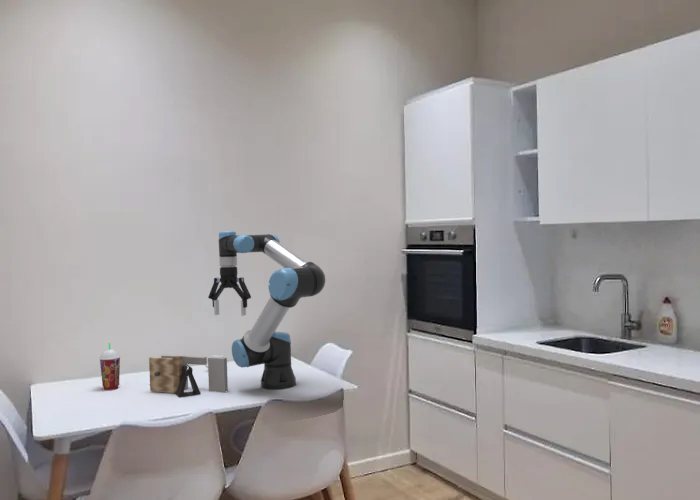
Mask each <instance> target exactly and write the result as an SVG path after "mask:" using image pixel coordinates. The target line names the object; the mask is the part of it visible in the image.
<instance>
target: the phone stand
mask: <svg viewBox="0 0 700 500" xmlns="http://www.w3.org/2000/svg"><path fill="white" fill-rule="evenodd" d="M186 369H188V370H187V371H186ZM187 376H188V381H189V382H190V386H191V391H186V392H185V390H186V389H185V385H186V381H187ZM175 395H176V396H177V397H179V398H185V397H192V396H193V397H194V396H200V395H201V390H200V388H199V386H198V384H197V381H196V379H195V376H194V374H193V367H191V366H190V364H187V366H186V365H183V366H182V375H181V380H180V384H179V386H178V388H177V391H176V393H175Z"/></svg>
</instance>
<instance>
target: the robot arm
mask: <svg viewBox="0 0 700 500" xmlns="http://www.w3.org/2000/svg"><path fill="white" fill-rule="evenodd" d="M247 253H263V254H265V255H266V256H268V258H270V259H271V260H273V261H275V262H276V263H277V264H278V265H280V266H281V267H282V268H279V269H277V270H275V271H274V272H273V273H272V274H271V275H270V278H269V280H268V284H269V285H267V286H268V291H269V292H268V293H269V296H270V297H269V299H268V301H267V302H266V304H265V305H264V307H263V309H262V311H261V312H260V315H259V316H258V318H257V319H256V321H255V323H254V325H253V326H252V328H251V329H249V330H247V331H246V332H245V333H244V334H243V336H242V338H239V339H235V340H234V341H233V342H232V344H231V355H232V358H233V361H234V363H235V364H236V366H238V367H240V368H249V367H255V366H259V365H264V366H263V373H262V376H261V378H260V387H261V388H263V389H268V390H269V389H270V390H278V389H280V390H282V389H287V388H291V387H292V388H293V387H294V386H296V385H297V380H296V376H295V373H294V369H293V368H292V347H291V346H292V345H291V344H292V342H291V335H290V334H289V333H288V332H282V331H276V330H277V329H278V327H279V325H280V324H281V322H282V321H283V319H284V318H285V316H286V315H287V313H288V311H289V310H290V309H291V308H294V307H295V306H297V304H298V302H299V300H301V298H308V297H314V296H316V295H318V294H320V293H321V292H322V290H323V289H324V287H325V285H326V275H325V273H324V271H323V269H322V268H321V267H320V266H318V264H316V263H315V262H313V261H307V260H305V259H304V258H302V257H301V256H300V255H298V254H296V252H294V251H293V250H291V249H289V248H288V247H286V246H285V245H283V244H282V243H280V238H279V237H278V236H277V235H276V234H270V233H269V234H268V233H267V234H237V232H236V231H235V230H234V231H233V230H229V231H228V230H225V231H219V233H218V255H219V257H218V258H219V275H220V277H214V278H213V283H212V287H211V290H210V291H209V295H208V299H209V300H211V301H212V307H213V310H214V314H213V315H214V316H217V315H220V299H218V298H220V295H221V294H222V293H223V291H224V290H225V289H233V290H234V291H235V292H236V294H237V295H238V296H239V298H240V299H241V300H240V315H241V317H242V316H243V317H244V316H246V315H247V308H248V300H249V299H251V298H252V296H251V293H250V292H249V288H248V287H247V285H246V283H245V279H244V278H245V277H241V276H240V277H238V267H237V266H238V254H247Z"/></svg>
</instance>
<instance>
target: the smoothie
mask: <svg viewBox="0 0 700 500" xmlns="http://www.w3.org/2000/svg"><path fill="white" fill-rule="evenodd" d="M120 363H121V356H120V354H119V352H118V351H117V350H115V349H113V348H111V342H108V348H107V349H106V350H104V351H103V352H102V353H101V355H100V357H99V364H100V372H101V373H100V376H101V382H102V383H101V384H102V388H103V389H104V390H106V391H111V390H112V391H113V390H117V389H118V388H119V385H120V374H121V373H120V368H121V367H120V366H121V364H120Z"/></svg>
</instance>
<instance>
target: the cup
mask: <svg viewBox="0 0 700 500" xmlns="http://www.w3.org/2000/svg"><path fill="white" fill-rule="evenodd" d="M210 357H218V358H225V355H223V354H212V355H209V356H208V357H207V362H208V358H210ZM204 367H206V368H207V369H208V363H207V364H205V365H204Z"/></svg>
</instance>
